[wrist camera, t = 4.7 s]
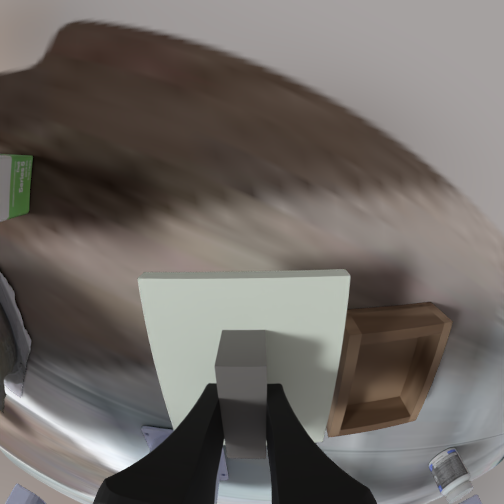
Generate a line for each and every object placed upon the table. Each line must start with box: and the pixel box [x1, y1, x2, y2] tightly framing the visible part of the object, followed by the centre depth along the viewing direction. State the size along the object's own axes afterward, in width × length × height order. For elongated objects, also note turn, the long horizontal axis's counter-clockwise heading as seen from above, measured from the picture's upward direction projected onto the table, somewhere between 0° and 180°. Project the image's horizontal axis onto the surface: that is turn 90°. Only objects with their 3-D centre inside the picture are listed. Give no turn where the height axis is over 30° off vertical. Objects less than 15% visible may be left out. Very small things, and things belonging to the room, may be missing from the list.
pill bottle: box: [429, 448, 473, 504], centre depth 22 cm, size 5×5×8 cm
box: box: [326, 302, 453, 437], centre depth 19 cm, size 10×8×3 cm
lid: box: [138, 269, 350, 459], centre depth 12 cm, size 11×9×3 cm
